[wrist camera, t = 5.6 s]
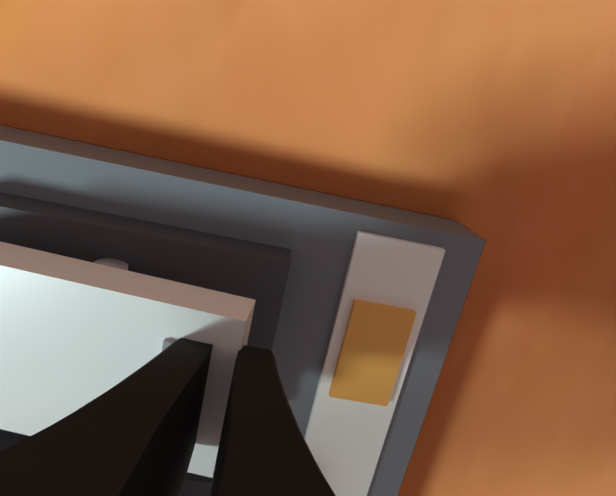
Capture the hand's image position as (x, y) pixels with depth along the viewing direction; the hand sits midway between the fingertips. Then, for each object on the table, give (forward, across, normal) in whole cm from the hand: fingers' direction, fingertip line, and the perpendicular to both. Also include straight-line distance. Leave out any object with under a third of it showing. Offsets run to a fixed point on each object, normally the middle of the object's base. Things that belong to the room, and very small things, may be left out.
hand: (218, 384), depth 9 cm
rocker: (+1, +3, 0) cm, 3 cm away
